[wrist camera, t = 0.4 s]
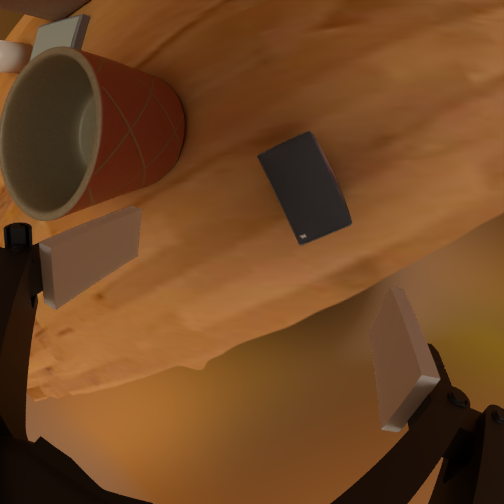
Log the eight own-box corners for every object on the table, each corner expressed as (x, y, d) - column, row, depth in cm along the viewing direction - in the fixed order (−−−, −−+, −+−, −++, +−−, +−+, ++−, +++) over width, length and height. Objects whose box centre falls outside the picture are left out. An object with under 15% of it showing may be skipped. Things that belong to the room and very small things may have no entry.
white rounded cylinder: (20, 46, 42) (-9, 43, 34) (36, 42, 41) (5, 37, 33) (13, 74, 45) (-16, 73, 36) (29, 71, 44) (-3, 69, 35)
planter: (201, 181, 43) (115, 208, 25) (101, 199, 48) (10, 230, 30) (185, 57, 38) (98, 15, 19) (88, 94, 43) (-5, 88, 24)
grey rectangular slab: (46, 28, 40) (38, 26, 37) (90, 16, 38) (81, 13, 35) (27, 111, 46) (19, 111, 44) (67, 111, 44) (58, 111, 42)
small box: (349, 207, 40) (356, 225, 30) (305, 225, 42) (298, 249, 32) (315, 134, 38) (312, 128, 28) (271, 154, 40) (253, 156, 30)
